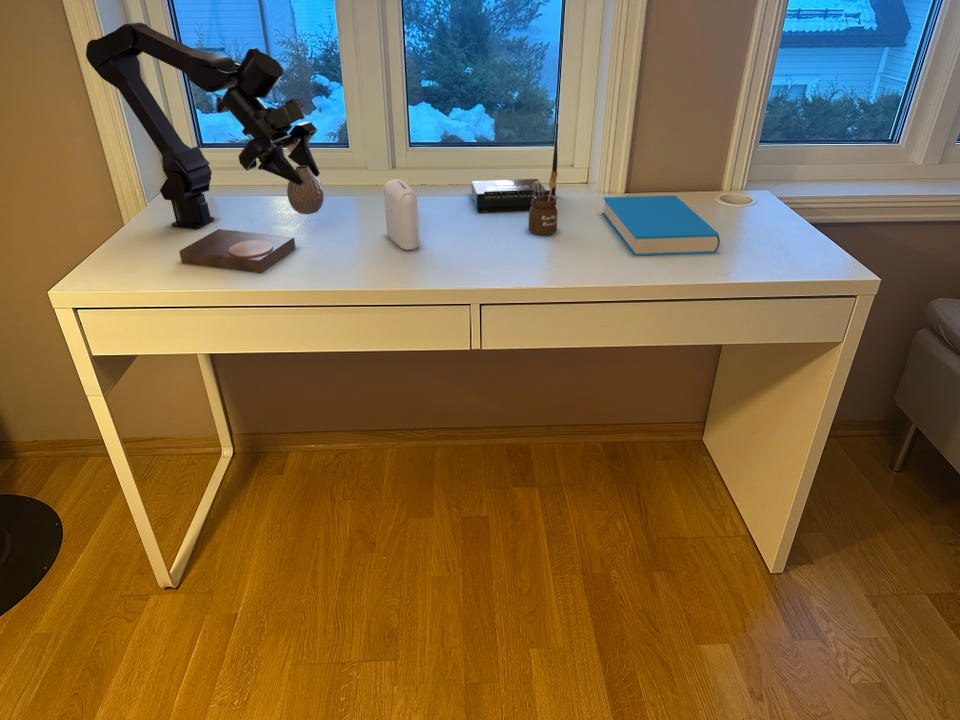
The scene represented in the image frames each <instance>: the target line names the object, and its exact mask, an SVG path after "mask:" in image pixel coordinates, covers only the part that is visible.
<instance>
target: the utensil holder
mask: <svg viewBox="0 0 960 720" xmlns="http://www.w3.org/2000/svg"><path fill="white" fill-rule="evenodd" d="M558 174H559V173H558V171H557V172H556V177H555V172H554V174H553V171H552V170H551V173H550V176H549V182H548V187H549V190H550V193H549V195H546V196H539V194H538V196H535V197H533V198H532V200H531V205H532V206H531V207H530V210H529V211H528V232H529V233H530V234H533V235H535V236H541V237H547V236H551V235H554V234H555V233H556V232H557V227H558V208H557V199H556V198H555V196H552V195H551V193H552V189H553V188H554V187H555V185H556V186H557V180H558V179H557V178H558ZM552 175H553V179H552ZM554 177H555V181H554ZM538 182H539V183H540V184H541V185H542V186H543V187H545V186H544V183H543V182H541V181H540V180H539V181H537V185H538ZM535 183H536V182H535ZM533 185H534V184H533ZM535 185H536V184H535ZM538 187H539V185H538ZM543 187H542V189H543ZM534 193H535V192H534ZM533 196H534V195H533Z"/></svg>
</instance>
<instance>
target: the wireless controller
mask: <svg viewBox="0 0 960 720" xmlns="http://www.w3.org/2000/svg"><path fill="white" fill-rule="evenodd" d="M554 133H555V135H554V145H553V153H552V164H551V165H552V166H551V169H552V170H551V172H552V171H553V174H554V172H555V177H556V172H558V138H559V124H558V123H555V131H554ZM555 177H554V181H555ZM552 179H553V175H552ZM537 181H539V182H540V180H539V179H538V178H521V179H519V178H517V179H497V180H496V179H494V180H493V179H492V180H489V179H488V180H471V198H472V201H473V204H474V206H475V209H476V210H477V213H478V214H493V213H515V212H516V213H517V212H519V213H521V212H529V210H530V207H531V206H532V205H531V200H532V198H533V197H535V196H538V194H539V196H549V193H550V189H549V190H547V189H546V188H545V186H543V184H542V183H541V182H540V183H541V184H542V185H541V184H540V183H539V182H538V185H539V187H538V185H537ZM535 182H536V183H535ZM533 184H534V185H533ZM535 184H536V185H535ZM542 187H543V189H542ZM556 191H557V184H556V185H555V187H554V188H553V189H552V193H551V197H555V196H556ZM534 192H535V193H534ZM533 195H534V196H533Z"/></svg>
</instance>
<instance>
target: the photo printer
mask: <svg viewBox="0 0 960 720" xmlns="http://www.w3.org/2000/svg"><path fill="white" fill-rule="evenodd" d="M383 197H384V198H383V199H384V210H385V211H384V212H385V222H386V232H387V237H388V238H389V239H390V240H391V241H392V242H393V243H394V244H395V245H397V246H398V247H399V248H400V249H402V250H405V251H412V250H416V249H417V248H418V247H420V230H419V211H418V199H417V195H416V193H415V191H414V189H412V187H411V186H410V185H409V184H408V183H407V182H405V181H404V180H402V179H399V178H396V179H390V180H388V181H387V182H386V183H385V184H384V186H383Z"/></svg>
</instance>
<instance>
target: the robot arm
mask: <svg viewBox="0 0 960 720" xmlns="http://www.w3.org/2000/svg"><path fill="white" fill-rule="evenodd" d="M142 53H144V54H146V55H147V56H150V57H152V58H154V59H157V60H159V61H160V62H163V63H164V64H166V65H169V66H170V67H173V68H175V69H177V70H178V71H181V72H182V73H184V74H185V75H186V76H187V78H188V79H189V81H190V83H192V84H194V85H195V86H197V88H199V89H201V90H202V91H204V92H206V93H210V94H212V93H216V92H221V91H225V90H226V91H225V93H224V95H222V96H219V97H216V102H217V104H216V112H217V113H218V114H222V113H226V112H230V113H231V115H232V116H233V117H234V118H235V119H236V120H237V121H238V122H239V124H241V126H242V127H243V129H242V131H241V133H242V134H243V135H244V136H246V137H248V136H249V135H250V137H252V138H253V139H249V140H248V142H247V143H246V144H245V146H244V148H243V149H242V150H241V152H240V153H239V155H238V162H239V164H240V165H241V166H242V168H243V169H244V170H245V171H247V172H248V171H250V170H252V169H256V167H257V165H258V163H257V161H258V162H259V165H258V167H257V169H258V170H259V171H265V172H268V173H271V174H273V175H276V176H277V177H280V178H283V179H285V180H287V181H288V182H289V181H291V182H293V183H296V184H298V185H300V184H301V183H302V182H303V181H302V179H301V178H300V176H299V175H298V173H297V172H296V171H295V169H296V168H294V167H293V166H292V164H291V163H290V162H289V160H288V159H290V160H291V161H293V162H294V163H296V165H298V166H303V165H304V166H308V167H309V168H310V170H311V172H312V173H313V174H314V175H315V176H316V177H317V178H318V177H319V175H320V173H321V172H320V170H319V168H318V165H317V163H316V161H315V159H314V156H313V153H312V151H311V149H310V141H311V139H312V138H313V137H314V136H315V134H316V133H317V132H318V129H317V128H316V126H315V125H314V124H313V123H312V121H303V122H300V123H297V124H295V125H294V126H293V125H292V124H293V123H295V122H297V121H299V120H301V121H302V120H304V119H305V118H306V116H305V113H306V105H305V104H303V102H302V101H301V100H299V98H298V97H293V98H290V99H289V100H286V101H285V104H284V105H281V106H280V107H278V108H275V107H273V106H270V107H267V106H266V105H265V104H264V103H263V101H261V99H266V98H267V97H268V96H269V95H270V93H271V92H272V91H273V89H274V88H275V86H276V85H277V83H278V82H279V80H280V79H281V78H282V77H283V75H284V70H283V67H282V66H281V64H280V63H279V61H278V60H277V59H274V58H273V57H272V56H271V55H268V54H266V53H264V52H261V51H260V50H259V48H258V47H253V48H251V47H250V48H249V49H248V50H247V52H246V54H245V56H244V58H243V60H242V61H241V63H236V62H235V61H234V60H233V59H232V58H231V57H229V56H227V55H223V54H219V53H216V52H210V51H204V50H203V51H201V50H199V49H194V48H192V47H191V46H189V45H186V44H184V43H182V42H180V41H178V40H176V39H174V38H172V37H170V36H167V34H163V33H161V32H159V31H158V30H156V29H153V28H151V27H150V26H149V25H148V24H147V23H144V22H132V23H131V22H130V23H123V24H122V25H121V26H119V27H118V28H116V30H114V31H111V32H109V33H107V34H105V35H104V36H101V37H99V38H95V39H94V38H93V39H90V40H89V41H88V42H87V44H86V50H85V57H86V60H87V62H88V63H89V65H90V66H91V67H92V68H93V70H94V71H95V72H96V73H97V74H98V76H99V77H100V78H101V79H102V80H104V81H105V82H107V83H108V84H110V85H111V86H113V87H115V88H116V89H117V90H118V91H119V92H120V94H121V96H122V97H123V99H124V100H125V102H126V103H127V105H128V106H129V108H130V110H132V112H133V114H134V115H135V117H136V118H137V120H138V121H139V123H140V124H141V126H142V127H143V129H144V130H145V132H146V133H147V135H148V136H149V138H150V140H151V141H152V142H153V144H154V146H155V147H156V149H157V150H158V151H159V153H160V155H161V165H162V171H163V173H164V174H165V177H166V180H165V181H164V183H163V184H162V185H161V187H160V188H159V192H160V193H161V196H162V198H163V199H164V201H170V202H171V206H172V210H173V215H174V219H175V221H173V222H171V225H170V226H171V227H177V228H184V229H194V230H196V229H199V228H202V227H203V226H205V225H207V224H209V223H210V222H211V223H212V222H213V221H215V217H214V216H211V215H210V214H211V213H210V209H209V203H208V201H206V196H205V193H206V192H209V191H210V186H211V185H210V184H211V180H212V174H213V172H212V169H211V167H210V166H209V165H210V164H211V163H210V161H208V160H207V158H206V157H205V156H204V154H203V152H202V150H201V149H200V148H199V146H194V147H190V146H189V145H187V144H185V143H184V141H183V140H182V139H181V137H180V136H179V134H178V133H177V130H176V129H175V128H174V126H173V124H172V123H171V122H170V120H169V119H168V117H167V116H166V114H165V112H164V111H163V109H162V108H161V106H160V105H159V103H158V101H157V100H156V99H155V97H154V96H153V94H152V93H151V91H150V89H149V87H148V86H147V84H146V83H145V82H144V80H143V79H142V73H141V71H142V70H141V62H140V60H139V58H138V57H139V56H140V55H141V54H142ZM288 132H289V133H288ZM284 148H285V149H287V150H288V151H289V154H288V156H287V158H288V159H287V158H286V156H285V153H284ZM257 159H258V160H257Z"/></svg>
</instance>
